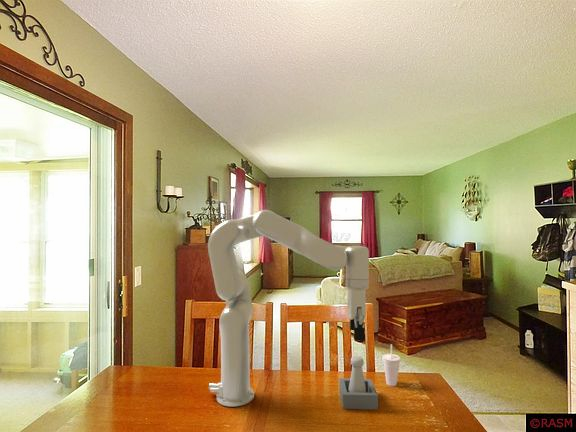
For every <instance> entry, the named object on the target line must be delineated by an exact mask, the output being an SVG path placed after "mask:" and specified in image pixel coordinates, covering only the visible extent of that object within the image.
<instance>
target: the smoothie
mask: <svg viewBox="0 0 576 432" xmlns="http://www.w3.org/2000/svg"><path fill="white" fill-rule="evenodd" d="M381 359H382V361H383V368H384V375H385V383H386V385H387V386H390V387H396V386H397V384H398V379H399V377H398V376H399V369H400V363H401V357H400V356H399V355H398V354H394V353H393V344H391V343H390V353H385V354H383V355H382V358H381Z"/></svg>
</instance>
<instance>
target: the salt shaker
mask: <svg viewBox="0 0 576 432" xmlns="http://www.w3.org/2000/svg"><path fill="white" fill-rule="evenodd" d="M350 365H351V366H352V367H351V372H350V378H349V379H350V383H349V389H348V390H349V392H359V393H366V387H365V382H364V379H365V375H364V371H363V366H364V365H365V363H364V358H363V357H361V356H358V355H357V356H356V355H355V356H352V357H351V358H350Z"/></svg>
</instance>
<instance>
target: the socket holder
mask: <svg viewBox="0 0 576 432" xmlns="http://www.w3.org/2000/svg"><path fill="white" fill-rule="evenodd" d="M338 379H339V385H338V386H339V396H340V401H341V406H342V409H343V410H379V394H378V391H377V390H376V387H375V384H374V382H373V380H372V378H371V379H370V378H364V382H365V387H366V393H359V392H349V390H348V389H349V383H350V378H341V377H340V378H338Z"/></svg>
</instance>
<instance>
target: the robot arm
mask: <svg viewBox="0 0 576 432" xmlns="http://www.w3.org/2000/svg"><path fill="white" fill-rule="evenodd" d="M261 237H265V238H267V239H269V240H272V241H274V242H276V243H277V244H279V245H282V246H283V247H286V248H288V249H289V250H291V251H293V252H294V253H296V254H300V255H301V256H303V257H305V258H307V259H309V260H311V261H313V263H317V264H319V265H321V266H323V267H324V268H327V269H329V270H331V271H340V270H342V269H344V268H345V289H347V303H346V304H347V306H346V307H347V308H346V311H347V315H348V318H349V329H350V331H353V340H354V341H365V322H364V321H365V320H366V312H367V310H366V309H367V307H366V306H367V305H366V304H367V302H366V301H367V300H366V296H367V295H366V290H368V289H369V288H370V287H369V286H370V285H369V282H370V280H369V279H370V277H369V276H370V273H369V270H370V269H369V268H370V266H369V264H370V259H369V258H370V251H369V248H368V247H367V246H364V245H350V246H346V245H340V244H333V243H331V242H329V241H327V240H325V239H323V238H322V237H321V238H320V237H319V236H317V235H315V234H313V232H311V231H309V230H308V229H307V228H306V227H304V226H302V225H300V224H298V223H296V222H293V221H292V220H290V219H287V218H285V217H283V216H281V215H279V214H277V213H275V212H274V211H272V210H270V209H261V210H259V211H257V212H256V213H254V214H250V215H249V216H244V217H240V218H237V219H227V220H225V221H223V222H221V223H220V224H218V225H217V226H216V227H215V228H214V229H213V230H212V232H211V233H210V235H209V237H208V242H207V251H208V257H209V260H210V261H209V262H210V265H211V272H212V277H213V281H214V287H215V292H216V294H217V296H218V297H219V298H220V299H221V300H222V301H225V304H226V305H225V307H224V309H223V310H222V312H221V314H220V316H219V326H218V327H219V334H220V382H218V383H215V382H213V383H212V382H211V383H210V382H209V385H208V390H209V391H210V393H216V401H217V403H218V404H219V405H222V406H225V407H229V408H230V407H231V408H232V407H233V408H234V407H241V406H244V405H247V404H249V403H250V402H252V401H253V399H254V397H255V391H254V389H253V388H252V387H250V386H251V385H250V381H251V380H250V372H251V371H250V334H249V333H250V332H249V327H250V325H249V324H250V321H251V318H252V317H253V314H254V306H253V300H252V296H251V291H250V287H249V286H250V285H249V282H248V279H247V276H246V275H245V273H244V272H243V271H242V270H240V269H238V264H237V257H236V254H235V252H234V247H235V246H236V245H237V244H240V243H243V242H247V241H249V240H252V239H257V238H261Z"/></svg>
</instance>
